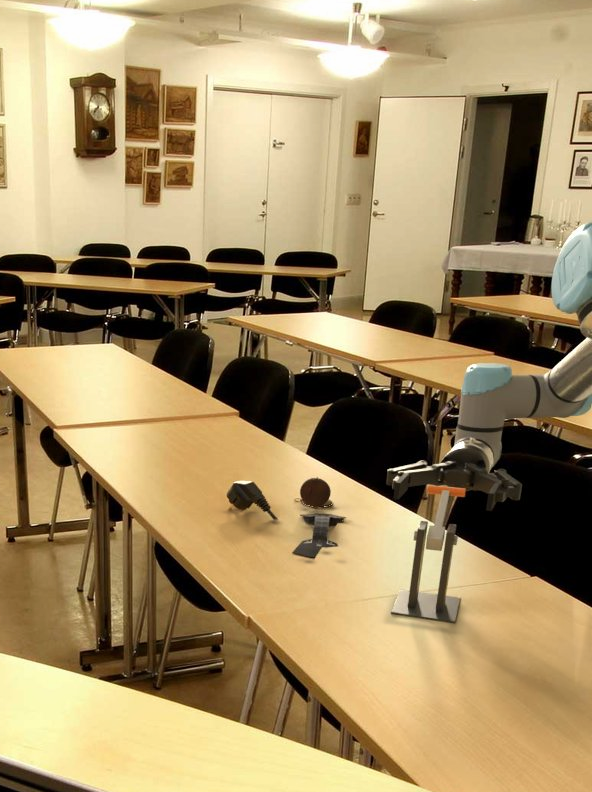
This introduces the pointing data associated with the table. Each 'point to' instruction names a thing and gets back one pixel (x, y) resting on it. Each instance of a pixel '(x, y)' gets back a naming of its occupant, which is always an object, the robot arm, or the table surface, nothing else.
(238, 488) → the power plug
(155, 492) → the table surface
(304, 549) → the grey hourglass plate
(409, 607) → the stand
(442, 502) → the lever
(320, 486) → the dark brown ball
